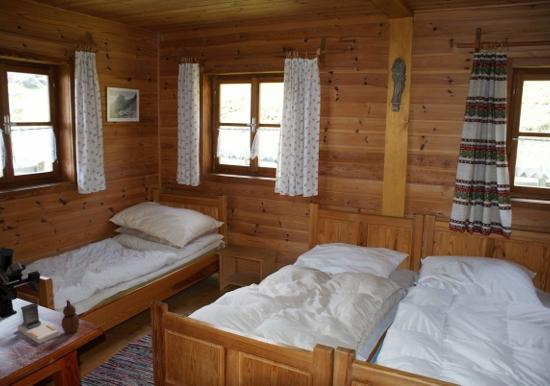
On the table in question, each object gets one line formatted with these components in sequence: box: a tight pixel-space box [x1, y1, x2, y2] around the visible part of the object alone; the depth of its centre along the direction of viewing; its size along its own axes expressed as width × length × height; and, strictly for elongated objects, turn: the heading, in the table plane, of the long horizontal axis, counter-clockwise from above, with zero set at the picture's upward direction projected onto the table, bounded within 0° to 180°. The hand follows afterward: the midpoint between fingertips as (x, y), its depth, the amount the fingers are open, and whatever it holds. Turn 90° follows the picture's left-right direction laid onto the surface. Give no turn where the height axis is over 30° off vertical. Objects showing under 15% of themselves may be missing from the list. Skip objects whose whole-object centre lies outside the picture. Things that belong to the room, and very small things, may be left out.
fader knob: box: [20, 302, 41, 329], centre depth 195 cm, size 6×5×8 cm
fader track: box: [17, 319, 60, 344], centre depth 193 cm, size 18×8×2 cm, turn 53°
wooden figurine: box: [61, 299, 80, 334], centre depth 193 cm, size 7×6×15 cm
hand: (26, 295), depth 194 cm, fingers open, 9 cm apart
